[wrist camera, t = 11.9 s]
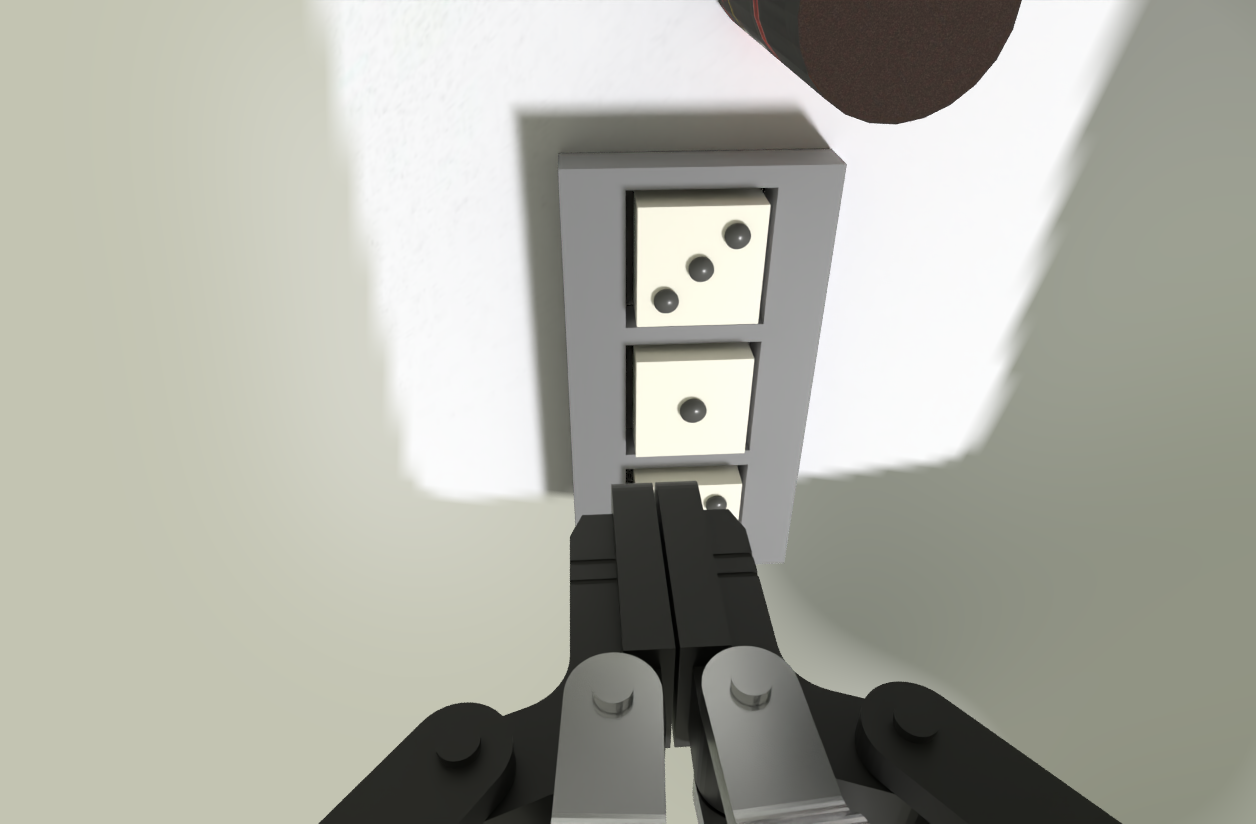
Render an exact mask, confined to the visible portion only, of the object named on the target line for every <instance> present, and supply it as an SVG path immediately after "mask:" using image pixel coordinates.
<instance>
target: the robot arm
mask: <svg viewBox="0 0 1256 824" xmlns="http://www.w3.org/2000/svg"><path fill="white" fill-rule="evenodd" d="M671 724H672V730H673V738H674V746H675V747H686V746H690V748H691V754H692V762H693V769H694V779H693V801H694V805H695V810H696V815H697V820H698V824H1122V823H1120V822H1119V821H1118V820H1116V819H1115V818H1113V817H1112V816H1110V815H1109V814H1108V813H1106V812H1105V811H1103V810H1102V809H1101V808H1099V807H1098V806H1096V805H1095V804H1093V803H1092V802H1091V801H1089V800H1088V799H1086V798H1085V797H1083V796H1082V795H1081V794H1079V793H1078V792H1077V791H1075V790H1074V789H1072V788H1071V787H1070V786H1068V785H1067V784H1065V783H1064V782H1062V781H1061V780H1060V779H1058V778H1057V777H1055V776H1054V775H1053V774H1051V773H1050V772H1048V771H1047V770H1045V769H1044V768H1042V767H1041V766H1040V765H1038V764H1037V763H1036V762H1034V761H1033V760H1031V759H1030V758H1028V757H1027V756H1026V755H1024V754H1023V753H1021V752H1020V751H1019V750H1017V749H1016V748H1014V747H1013V746H1012V745H1010V744H1009V743H1007V742H1006V741H1005V740H1003V739H1001V738H1000V737H999V736H997V735H996V734H995V733H993V732H992V731H990V730H989V729H988V728H986V727H985V726H983V725H982V724H980V723H979V722H978V721H976V720H975V719H973V718H972V717H971V716H969V715H967V714H966V713H965V712H963V711H962V710H961V709H959V708H958V707H956V706H955V705H954V704H952V703H951V702H949V701H948V700H946V699H945V698H944V697H942V696H941V695H939V694H938V693H936V692H934V691H933V690H931V689H928V688H926V687H924V686H921V685H918V684H914V683H909V682H889V683H886V684H882V685H880V686H878V687H876V688H875V689H873V690H872V691H871V692H870V693H869V694H868V695H867V696H866V698H865V699H864V698H860V697H856V696H852V695H847V694H843V693H839V692H834V691H830V690H827V689H824V688H821V687H819V686H816V685H814V684H811V683H810V682H808V681H807V680H805V679H803V678H802V677H801V676H799V675H798V674H797V673H795V672H794V671H793V669H792V668H791V667H790V666H789V665H788V664H787V663H786V662H785V660H784V659H783V657H782V655H781V653H780V651H779V648H778V646H777V642H776V638H775V635H774V631H773V627H772V624H771V620H770V616H769V613H768V609H767V605H766V601H765V598H764V594H763V590H762V587H761V583H760V579H759V577H758V576H757V569H756V565H755V561H754V557H752V550H751V546H750V543H749V539H748V535H747V532H746V529H745V528H744V526H743V525H742V524H741V523H740V522H739V521H738V520H737V518H736V517H735V516H734V515H733V514H732V513H731V511H730V510H729V509H713V510H703V505H702V501H701V496H700V491H699V487H698V483H697V481H676V482H655V486H654V489H653V484H652V483H629V484H611V514H595V515H582V516H581V518H580V520H579V522H578V523H577V525H576V527H575V529H574V530H573V532H572V534H571V536H570V662H569V667H568V670H567V673H566V675H565V677H564V679H563V680H562V682H561V683H560V685H559V686H558V687H557V688H556V689H555V690H554V691H553V692H552V693H551V694H550V695H549V696H547V697H546V698H545V699H543V700H541V701H540V702H538V703H536V704H534V705H532V706H529V707H527V708H524V709H521V710H518V711H516V712H513V713H510V714H508V715H505V716H502V715H501V714H499V713H498V712H497V711H496V710H494V709H492V708H491V707H489V706H486V705H483V704H478V703H458V704H453V705H450V706H446V707H444V708H442V709H440V710H438V711H436V712H434V713H433V714H431V715H430V716H429V717H427V718H426V719H425V720H424V721H423V722H422V723H421V724H419V725H418V727H416V728H415V729H414V731H413V732H411V733H410V734H409V735H408V736H407V737H406V738H405V739H404V740H403V741H402V742H401V743H400V744H399V745H398V746H397V747H396V748H395V749H394V750H393V751H392V752H391V753H390V754H389V755H388V756H387V757H386V758H385V759H384V760H383V761H382V762H381V763H380V764H379V765H378V766H377V767H376V768H375V769H374V770H373V771H372V772H371V773H370V774H369V775H368V776H367V777H366V778H365V779H363V780H362V781H361V782H360V783H359V784H358V785H357V786H356V787H355V788H354V789H353V790H352V791H351V792H350V793H349V794H348V795H347V796H346V797H345V798H344V799H343V800H342V801H341V802H340V803H339V804H338V805H337V806H336V807H335V808H334V809H333V810H332V811H331V812H330V813H329V814H328V815H327V816H326V817H325V818H324V819H323V820H322V821H321V822H320V823H319V824H666V796H665V795H666V794H665V748H670V743H671Z"/></svg>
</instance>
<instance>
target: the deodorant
mask: <svg viewBox="0 0 1256 824" xmlns="http://www.w3.org/2000/svg"><path fill="white" fill-rule="evenodd" d="M1021 1H1022V0H719V2H720V5H721V6H722V7H723V9H724V10H725V12H726V13H727V14H728V16H729V17H730V18H731V20H732V21H734V22H735V23H736V24H737V25H738V26H739V27H741V28H742V29H743V30H744V31H745V32H747V33H748V34H749V35H750V36H751V37H752V38H754V39H755V40H756V41H757V42H758V43H759V44H761V45H762V46H763V47H764V48H765V49H767V50H768V51H769V52H770V53H771V54H772V55H774V56H775V57H776V58H777V59H778V60H780V61H781V62H782V63H783V64H784V65H785V66H787V67H788V68H789V69H790V70H791V71H793V72H794V73H795V74H796V75H797V76H798V77H800V78H801V79H802V80H803V81H804V82H806V83H807V84H808V85H809V86H810V87H811V88H813V89H814V90H815V91H816V92H817V93H819V94H820V95H821V96H822V97H823V98H824V99H826V100H827V101H828V102H830V103H831V104H832V105H834V106H835V107H836V108H837V109H839V110H840V111H841V112H843V113H844V114H845V115H848V116H851V117H854V118H857V119H860V120H862V121H865V122H868V123H879V124H900V123H904V122H909V121H913V120H917V119H922V118H925V117H927V116H929V115H931V114H933V113H935V112H937V111H939V110H941V109H943V108H945V107H947V106H949V105H951V104H952V103H953V102H955V101H956V100H957V99H958V98H960V97H961V96H962V95H963V94H965V93H966V92H967V91H968V90H970V89H971V88H972V87H973V86H975V85H976V84H977V82H978V81H979V80H980V79H981V78H982V76H983V75H984V74H985V73H986V72H987V70H988V69H989V68H990V67H991V66H992V64H993V63H994V62H995V61H996V60H997V58H998V56H999V54H1000V52H1001V50H1002V49H1003V47H1004V45H1005V43H1006V41H1007V39H1008V38H1009V36H1010V34H1011V32H1012V30H1013V28H1014V24H1015V21H1016V18H1017V14H1018V11H1019V8H1020V4H1021Z"/></svg>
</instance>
